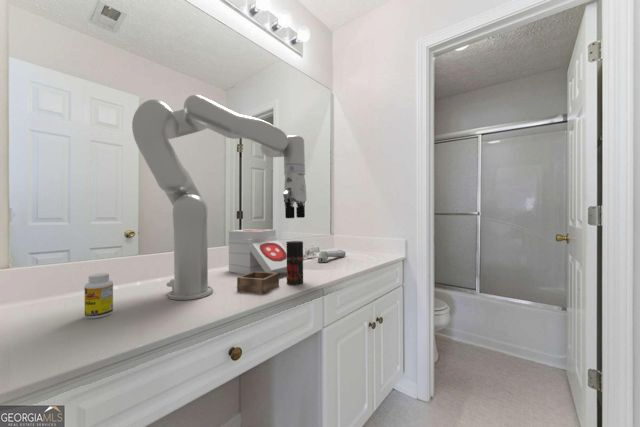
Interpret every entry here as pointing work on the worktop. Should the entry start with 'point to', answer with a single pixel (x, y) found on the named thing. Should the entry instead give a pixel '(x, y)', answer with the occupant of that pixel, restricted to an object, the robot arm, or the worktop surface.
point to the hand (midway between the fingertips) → (295, 217)
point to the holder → (257, 282)
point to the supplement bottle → (98, 296)
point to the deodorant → (294, 262)
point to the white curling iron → (329, 255)
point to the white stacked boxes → (256, 252)
